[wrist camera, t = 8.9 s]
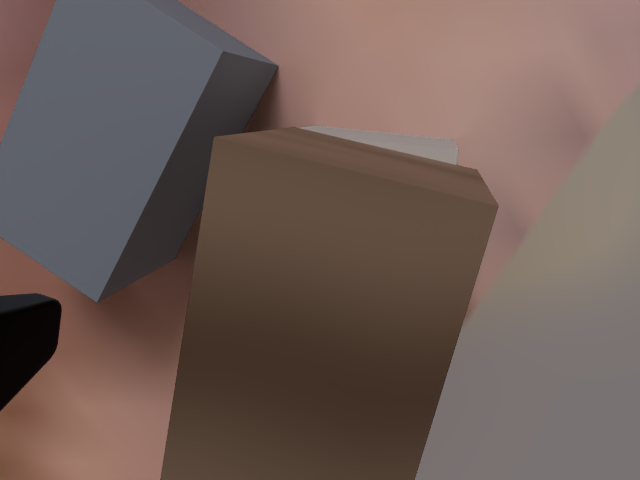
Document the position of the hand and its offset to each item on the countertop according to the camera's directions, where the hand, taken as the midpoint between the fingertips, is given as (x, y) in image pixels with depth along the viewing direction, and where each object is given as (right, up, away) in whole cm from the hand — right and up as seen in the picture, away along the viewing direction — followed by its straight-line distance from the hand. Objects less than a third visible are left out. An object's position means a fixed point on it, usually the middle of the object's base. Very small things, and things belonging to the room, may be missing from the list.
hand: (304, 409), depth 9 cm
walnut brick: (+1, +1, +5) cm, 6 cm away
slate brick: (-5, +7, +11) cm, 14 cm away
